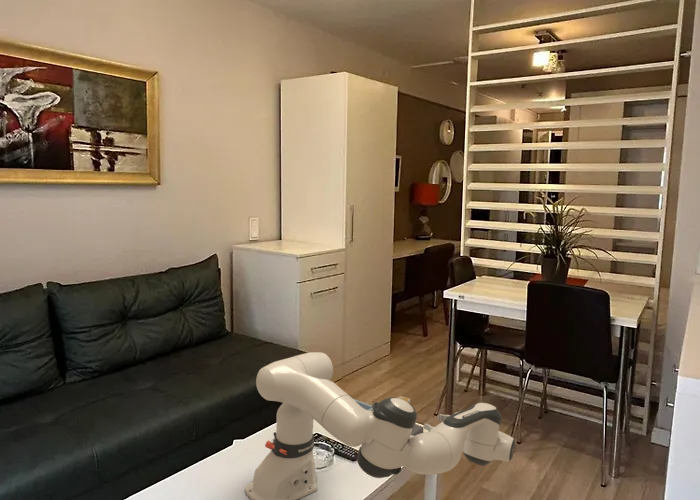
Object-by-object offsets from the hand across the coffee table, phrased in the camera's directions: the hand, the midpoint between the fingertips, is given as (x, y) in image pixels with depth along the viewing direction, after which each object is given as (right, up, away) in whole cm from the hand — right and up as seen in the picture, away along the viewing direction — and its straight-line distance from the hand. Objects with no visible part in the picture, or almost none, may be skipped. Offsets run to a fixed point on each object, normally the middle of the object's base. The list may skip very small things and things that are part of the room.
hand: (431, 420), depth 183 cm
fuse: (-10, -7, +9) cm, 15 cm away
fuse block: (-10, -7, +9) cm, 15 cm away
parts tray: (-30, -5, +21) cm, 37 cm away
